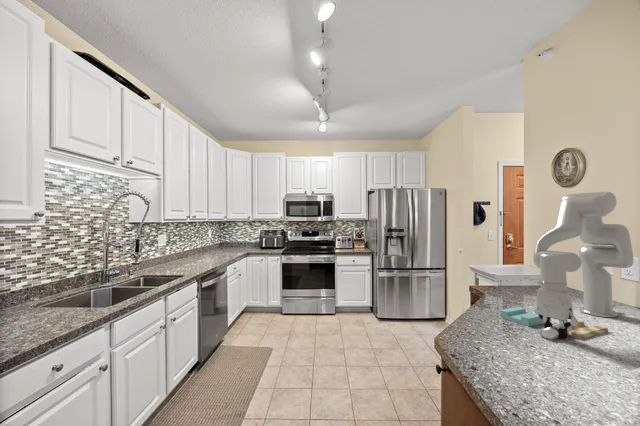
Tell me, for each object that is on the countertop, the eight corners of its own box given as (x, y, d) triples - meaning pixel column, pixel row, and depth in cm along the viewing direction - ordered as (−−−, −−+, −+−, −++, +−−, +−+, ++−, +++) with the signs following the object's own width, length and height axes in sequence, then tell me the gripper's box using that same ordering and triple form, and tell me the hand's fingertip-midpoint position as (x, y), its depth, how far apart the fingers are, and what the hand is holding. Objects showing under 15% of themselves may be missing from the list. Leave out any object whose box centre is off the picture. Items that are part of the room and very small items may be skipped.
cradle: (519, 315, 130) (518, 306, 130) (548, 324, 119) (547, 314, 119) (500, 319, 126) (500, 310, 126) (528, 328, 114) (528, 318, 115)
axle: (560, 330, 109) (559, 320, 109) (572, 335, 105) (572, 324, 105) (539, 338, 105) (539, 327, 105) (552, 343, 101) (551, 332, 101)
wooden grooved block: (576, 324, 117) (576, 319, 117) (608, 333, 108) (608, 327, 108) (548, 331, 111) (548, 325, 111) (579, 341, 102) (579, 334, 102)
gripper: (523, 283, 112) (525, 329, 111) (574, 292, 96) (576, 347, 96) (536, 281, 115) (538, 326, 114) (587, 290, 99) (589, 343, 98)
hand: (555, 335), depth 105 cm, fingers closed on axle, 4 cm apart
